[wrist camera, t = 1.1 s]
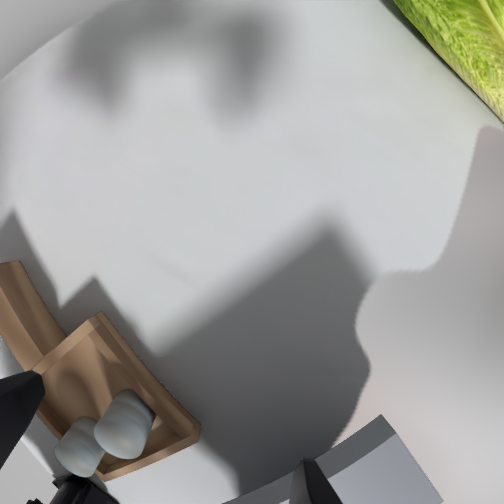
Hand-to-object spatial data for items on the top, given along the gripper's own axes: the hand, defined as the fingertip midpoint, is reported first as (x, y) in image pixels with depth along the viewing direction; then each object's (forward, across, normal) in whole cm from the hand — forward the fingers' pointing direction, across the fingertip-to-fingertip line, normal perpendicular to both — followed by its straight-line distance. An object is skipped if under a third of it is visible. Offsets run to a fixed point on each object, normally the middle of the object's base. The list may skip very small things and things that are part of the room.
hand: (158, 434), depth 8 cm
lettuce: (+22, -18, -27) cm, 39 cm away
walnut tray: (+10, +11, +10) cm, 18 cm away
